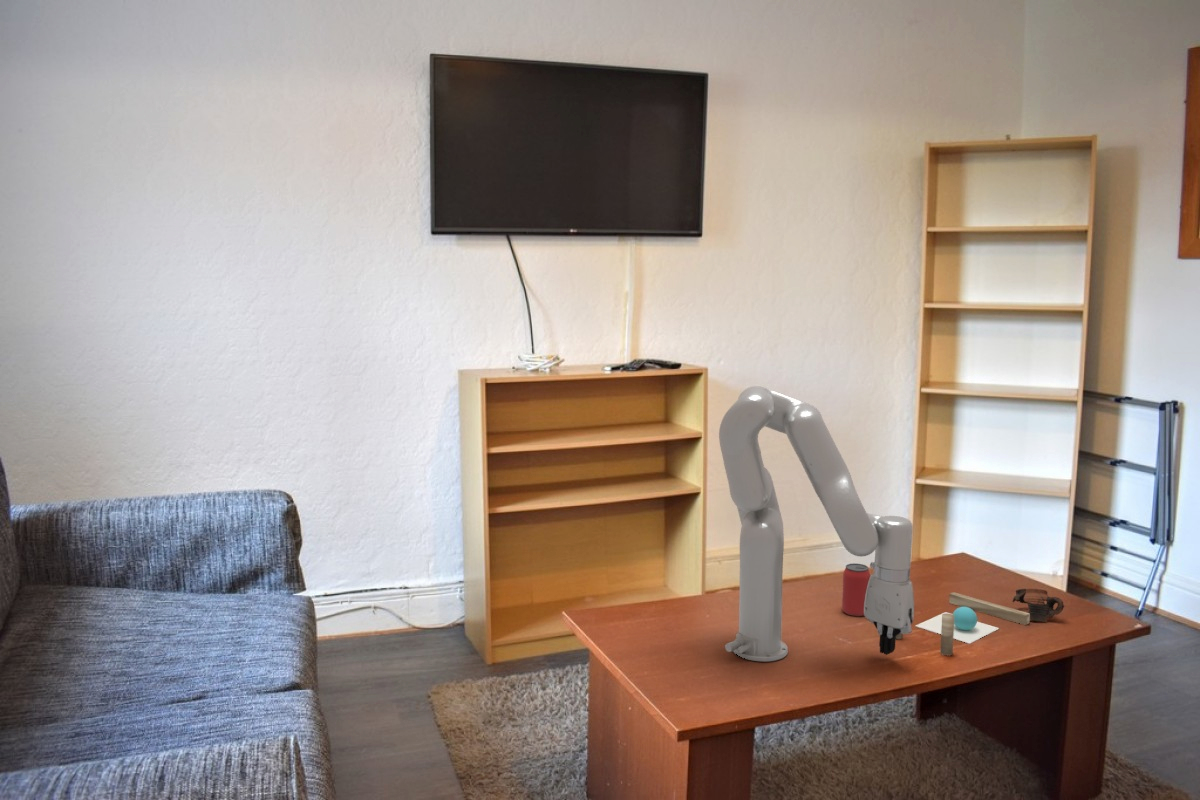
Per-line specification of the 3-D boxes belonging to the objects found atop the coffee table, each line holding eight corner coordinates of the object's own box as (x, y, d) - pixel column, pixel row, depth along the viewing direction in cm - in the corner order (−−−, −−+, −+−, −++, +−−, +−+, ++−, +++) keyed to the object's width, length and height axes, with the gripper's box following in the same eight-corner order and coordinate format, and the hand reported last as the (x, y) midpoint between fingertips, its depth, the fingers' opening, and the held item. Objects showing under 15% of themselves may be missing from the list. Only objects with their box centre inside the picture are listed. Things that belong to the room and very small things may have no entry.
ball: (980, 632, 221) (967, 633, 217) (958, 627, 225) (946, 627, 222) (983, 609, 221) (970, 609, 218) (961, 604, 225) (949, 604, 222)
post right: (948, 657, 206) (950, 618, 205) (938, 653, 208) (939, 615, 207) (954, 653, 208) (956, 615, 207) (944, 650, 210) (946, 612, 209)
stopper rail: (1025, 625, 224) (1025, 615, 224) (949, 603, 239) (949, 593, 239) (1029, 623, 225) (1029, 613, 225) (953, 601, 241) (953, 592, 240)
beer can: (872, 617, 230) (873, 571, 228) (845, 617, 230) (847, 570, 228) (865, 607, 237) (866, 562, 235) (839, 607, 237) (840, 562, 235)
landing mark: (969, 644, 213) (969, 643, 213) (915, 626, 224) (915, 625, 224) (999, 629, 222) (999, 628, 222) (945, 612, 233) (945, 611, 233)
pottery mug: (1009, 620, 229) (1006, 587, 232) (1021, 627, 235) (1019, 595, 238) (1061, 619, 221) (1058, 585, 224) (1072, 626, 228) (1069, 593, 231)
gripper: (852, 567, 205) (848, 645, 208) (912, 585, 194) (907, 668, 196) (872, 561, 210) (867, 637, 212) (932, 578, 199) (926, 659, 201)
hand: (886, 652), depth 204 cm, fingers closed
